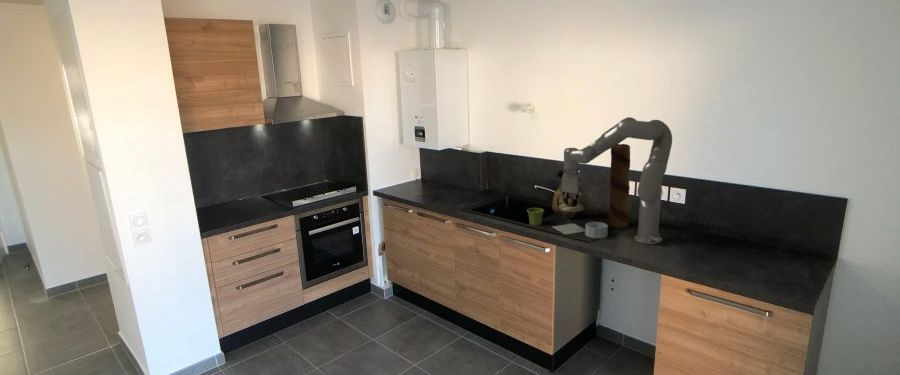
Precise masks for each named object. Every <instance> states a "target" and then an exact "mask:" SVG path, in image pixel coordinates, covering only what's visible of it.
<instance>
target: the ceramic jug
mask: <svg viewBox="0 0 900 375" xmlns="http://www.w3.org/2000/svg"><path fill="white" fill-rule="evenodd" d="M563 174H564V170H562V169H560V170H558V171H557V172H556V174H555V177H557V178H560V179H562V176H563ZM560 189H561V185H559V187H558V188H557V190H556V192H555V193H554V194H553V197H552V202H551V207H552V211H553V212H554V214H555V215H556V218H560V219H572V218H574V217H575V215H576V213H578V211H574V212H570V211H563V210H560V209H559V205H561V204H566V203H565V198H564V195H563V194H562V193H561V192H560ZM569 197H573V193H569ZM573 198H574V197H573ZM577 204H580V202H579V197H578V198H577Z"/></svg>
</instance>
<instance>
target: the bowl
mask: <svg viewBox="0 0 900 375" xmlns="http://www.w3.org/2000/svg"><path fill="white" fill-rule="evenodd" d="M608 226H609V225H608V224H607V223H606V222H605V223H604V222H601V221H589V222H586V223H585V226H584V227H585V228H584V229H585V231H584V234H585V236H586V237H588V238H592V239H605V238H607V237H608V228H609V227H608Z"/></svg>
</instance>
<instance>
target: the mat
mask: <svg viewBox="0 0 900 375" xmlns="http://www.w3.org/2000/svg"><path fill="white" fill-rule="evenodd" d="M552 228H553V229H555V230H557V231H558V232H560V233H562V234H563V235H570V234H577V233H583V232H584V233H585V228H584V227H582V226H580V225H577V224H576V223H568V224H562V225H561V224H560V225H555V226H554V225H553V226H552Z"/></svg>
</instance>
